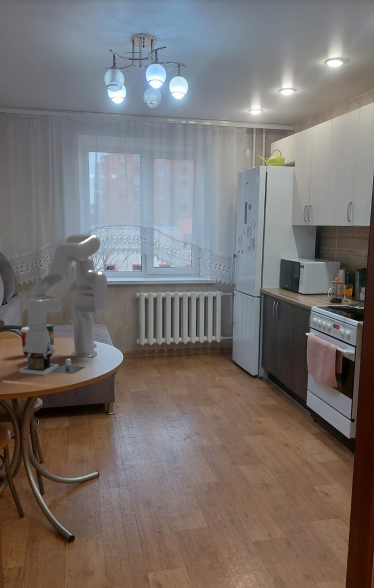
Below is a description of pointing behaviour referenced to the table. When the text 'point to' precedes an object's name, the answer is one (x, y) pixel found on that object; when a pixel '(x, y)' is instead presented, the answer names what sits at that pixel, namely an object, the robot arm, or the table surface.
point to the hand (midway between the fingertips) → (39, 366)
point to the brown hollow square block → (36, 362)
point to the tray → (25, 370)
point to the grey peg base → (68, 368)
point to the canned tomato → (51, 333)
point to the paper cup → (24, 337)
